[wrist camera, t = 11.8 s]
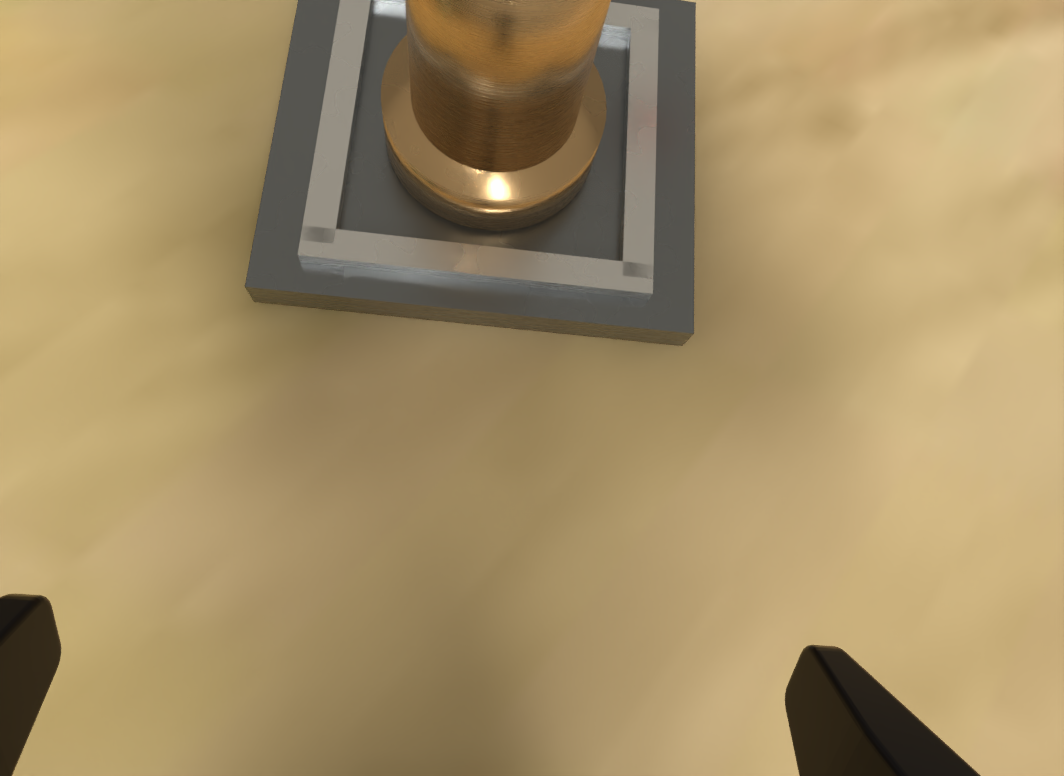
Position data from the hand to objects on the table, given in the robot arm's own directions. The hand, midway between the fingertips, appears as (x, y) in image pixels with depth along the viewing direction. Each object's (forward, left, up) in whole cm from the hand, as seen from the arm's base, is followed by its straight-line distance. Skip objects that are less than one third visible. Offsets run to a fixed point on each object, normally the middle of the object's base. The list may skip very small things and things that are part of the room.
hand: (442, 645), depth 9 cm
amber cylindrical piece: (+13, -9, -12) cm, 20 cm away
